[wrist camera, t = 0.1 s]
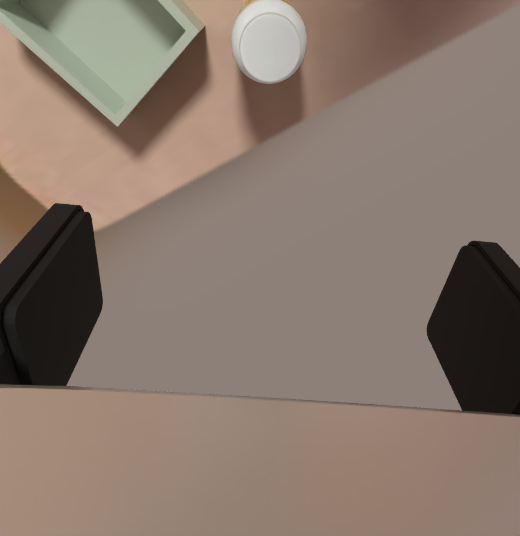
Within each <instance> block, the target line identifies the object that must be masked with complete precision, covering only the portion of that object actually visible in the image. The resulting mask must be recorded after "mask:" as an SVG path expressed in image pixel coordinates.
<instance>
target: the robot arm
mask: <svg viewBox="0 0 520 536" xmlns="http://www.w3.org/2000/svg"><path fill="white" fill-rule="evenodd" d="M102 304H103V298H102V290H101V283H100V276H99V269H98V262H97V254H96V247H95V240H94V232H93V225H92V218H91V215H90V213H89V212H84V210H83V208H82V207H81V206H80V205H70V204H59V203H55V204H54V205H53V206H52V207H51V208H50V209H49V210H48V211H47V212H46V214H45V215H44V216H43V217H42V218H41V219H40V220H39V221H38V222H37V224H36V225H35V226H34V227H33V228H32V229H31V230H30V231H29V232H28V234H27V235H26V236H25V237H24V238H23V239H22V240H21V241H20V242H19V243H18V245H17V246H16V247H15V248H14V249H13V250H12V251H11V252H10V254H9V255H8V256H7V257H6V258H5V259H4V260H3V261H2V262H1V264H0V536H520V268H519V267H518V265H517V264H516V263H515V262H514V261H513V260H512V259H511V258H510V257H509V255H508V254H507V253H506V252H505V251H504V250H503V249H502V248H501V247H500V246H499V245H498V244H497V243H492V242H481V241H471V242H470V243H469V244H468V245H467V246H463V247H462V248H461V249H460V251H459V253H458V256H457V258H456V260H455V262H454V265H453V267H452V269H451V271H450V274H449V276H448V278H447V281H446V283H445V285H444V287H443V290H442V292H441V294H440V297H439V299H438V301H437V304H436V306H435V308H434V310H433V313H432V315H431V317H430V320H429V322H428V325H427V336H428V339H429V341H430V343H431V345H432V347H433V349H434V351H435V353H436V355H437V358H438V360H439V362H440V364H441V366H442V368H443V370H444V372H445V375H446V377H447V379H448V381H449V383H450V385H451V387H452V390H453V391H454V394H455V396H456V398H457V400H458V402H459V404H460V406H461V409H462V411H459V410H445V409H431V408H417V407H402V406H388V405H373V404H358V403H341V402H327V401H312V400H296V399H280V398H263V397H249V396H232V395H215V394H197V393H180V392H164V391H163V392H162V391H147V390H128V389H112V388H95V387H94V388H93V387H76V386H66V385H67V383H68V381H69V379H70V377H71V374H72V372H73V370H74V368H75V366H76V364H77V362H78V360H79V357H80V355H81V353H82V351H83V349H84V347H85V345H86V343H87V341H88V338H89V336H90V334H91V332H92V330H93V327H94V326H95V324H96V321H97V319H98V317H99V315H100V312H101V310H102Z"/></svg>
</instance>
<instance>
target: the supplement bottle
mask: <svg viewBox="0 0 520 536" xmlns="http://www.w3.org/2000/svg"><path fill="white" fill-rule="evenodd" d="M231 48H232V53H233V57H234V59H235V61H236V63H237V65H238V67H239V68H240V70H241V71H242V72H243V73H244V74H245V75H246V76H247V77H249V78H250V79H252V80H254V81H256V82H259V83H263V84H274V83H278V82H281V81H284V80H286V79H287V78H289V77H290V76H291V75H293V74H294V73H295V72H296V70H297V69H298V68H299V66H300V65H301V63H302V61H303V59H304V56H305V53H306V48H307V34H306V29H305V26H304V23H303V21H302V19H301V17H300V15H299V14H298V13H297V11H296V10H295V9H294V8H293V7H292V6H291V5H290V4H289V3H288V2H286V1H285V0H249V1H248V2H247V3H246V4H245V5H244V6H243V7H242V9H241V10H240V12H239V14H238V16H237V18H236V21H235V23H234V26H233V30H232V35H231Z"/></svg>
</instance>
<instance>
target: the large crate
mask: <svg viewBox="0 0 520 536" xmlns="http://www.w3.org/2000/svg"><path fill="white" fill-rule="evenodd" d="M0 23H1V24H2V25H3V26H4V27H6V28H7V29H8V30H9V31H10V32H11V33H12V34H13V35H15V36H16V37H17V38H18V39H19V40H20V41H21V42H22V43H24V44H25V45H26V46H27V47H28V48H29V49H30V50H31V51H33V52H34V53H35V54H36V55H37V56H38V57H39V58H40V59H42V60H43V61H44V62H45V63H46V64H47V65H48V66H49V67H51V68H52V69H53V70H54V71H55V72H56V73H57V74H58V75H60V76H61V77H62V78H63V79H64V80H65V81H66V82H67V83H69V84H70V85H71V86H72V87H73V88H74V89H75V90H76V91H78V92H79V93H80V94H81V95H82V96H83V97H84V98H85V99H87V100H88V101H89V102H90V103H91V104H92V105H93V106H94V107H96V108H97V109H98V110H99V111H100V112H101V113H102V114H103V115H105V116H106V117H107V118H108V119H109V120H110V121H111V122H112V123H114V124H115V125H116V126H117V127H118V126H119V125H120V124H121V123H122V122H123V121H124V119H125V118H126V117H127V116H128V115H129V114H130V113H131V112H132V111H133V110H134V108H135V107H136V106H137V105H138V104H139V103H140V101H141V100H142V99H143V98H144V97H145V96H146V94H147V93H148V92H149V91H150V90H151V89H152V87H153V86H154V85H155V84H156V83H157V82H158V80H159V79H160V78H161V77H162V76H163V74H164V73H165V72H166V71H167V70H168V69H169V67H170V66H171V65H172V64H173V63H174V62H175V60H176V59H177V58H178V57H179V56H180V55H181V53H182V52H183V51H184V50H185V49H186V48H187V46H188V45H189V44H190V43H191V42H192V41H193V39H194V38H195V37H196V36H197V35H198V34H199V32H200V31H201V30H202V29H203V28H204V27H205V25H204V24H203V23H202V22H201V20H200V19H199V18H198V17H197V16H196V15H195V14H194V13H193V11H192V10H191V9H190V8H189V7H188V6H187V5H186V4H185V2H184V1H183V0H0Z"/></svg>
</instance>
